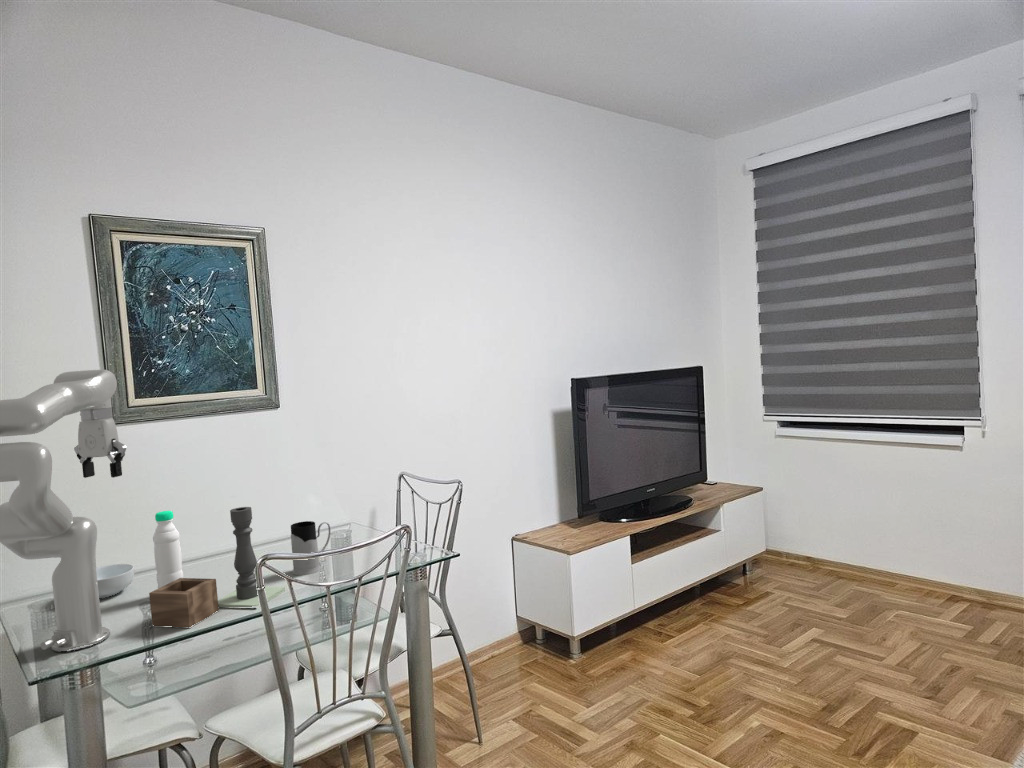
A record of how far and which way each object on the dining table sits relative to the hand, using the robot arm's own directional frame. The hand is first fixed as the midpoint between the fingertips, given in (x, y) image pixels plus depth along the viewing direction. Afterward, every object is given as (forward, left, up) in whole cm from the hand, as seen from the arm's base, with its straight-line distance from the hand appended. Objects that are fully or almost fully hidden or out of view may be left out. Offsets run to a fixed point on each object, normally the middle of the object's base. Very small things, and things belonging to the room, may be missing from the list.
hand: (102, 476), depth 194 cm
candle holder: (+12, -34, -38) cm, 52 cm away
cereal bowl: (+12, +16, -39) cm, 43 cm away
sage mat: (+12, -34, -38) cm, 53 cm away
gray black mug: (+39, -39, -38) cm, 68 cm away
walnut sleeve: (-3, -25, -38) cm, 46 cm away
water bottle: (+13, -7, -38) cm, 41 cm away
